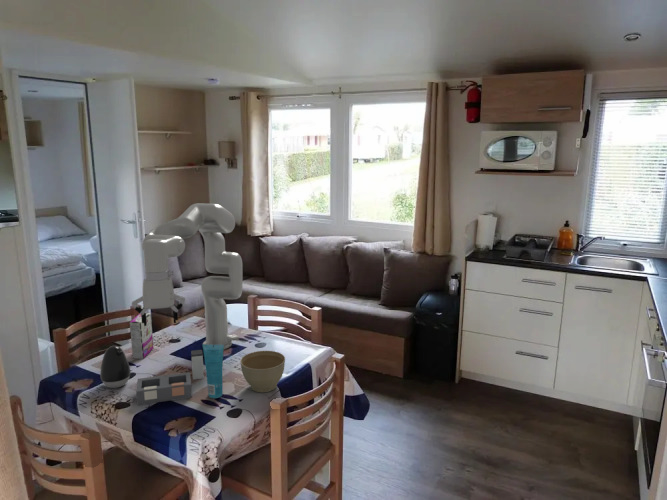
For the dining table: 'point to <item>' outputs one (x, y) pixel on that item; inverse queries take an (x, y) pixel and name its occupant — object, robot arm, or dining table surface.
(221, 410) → the dining table surface
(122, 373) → the dark grey egg
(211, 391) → the tube
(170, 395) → the socket box
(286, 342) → the dining table surface
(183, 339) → the dining table surface
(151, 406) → the dining table surface
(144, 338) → the candy bar box
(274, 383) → the planter bowl
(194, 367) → the plug
